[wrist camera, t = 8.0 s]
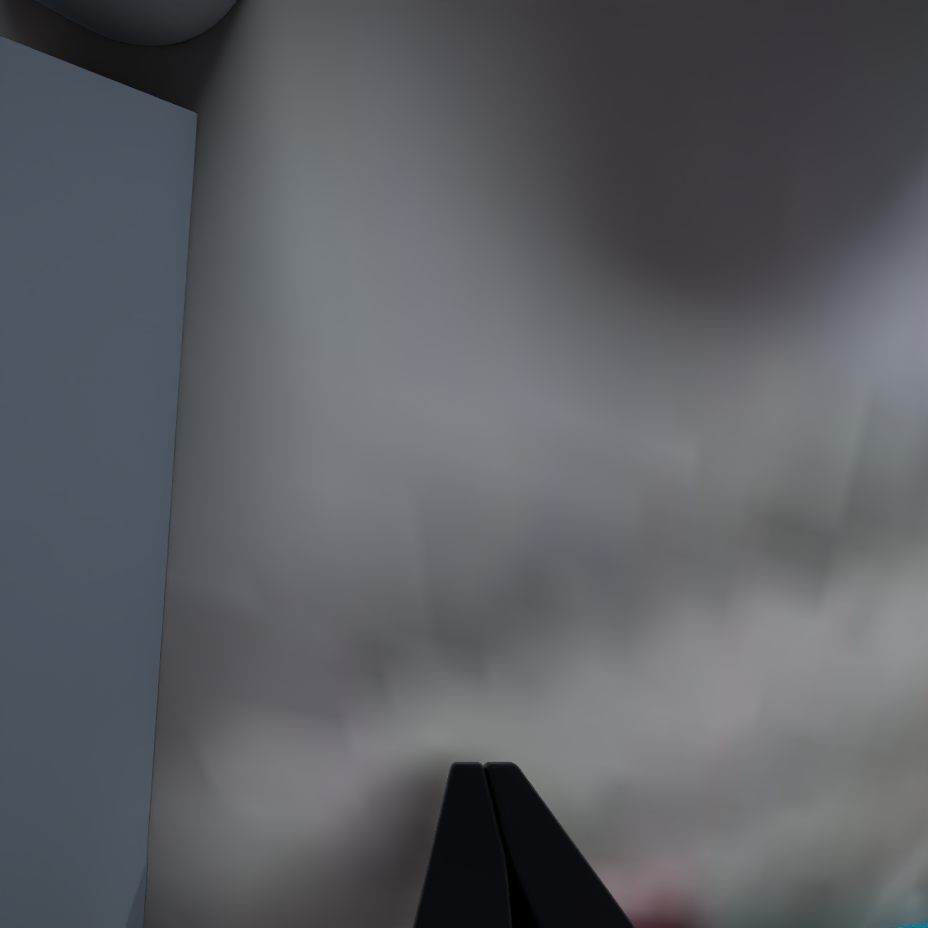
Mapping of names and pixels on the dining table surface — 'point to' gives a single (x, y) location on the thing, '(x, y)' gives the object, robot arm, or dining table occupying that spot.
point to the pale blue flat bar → (86, 458)
